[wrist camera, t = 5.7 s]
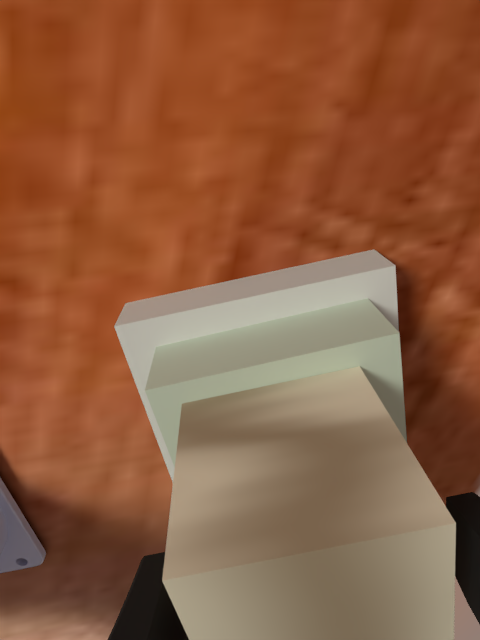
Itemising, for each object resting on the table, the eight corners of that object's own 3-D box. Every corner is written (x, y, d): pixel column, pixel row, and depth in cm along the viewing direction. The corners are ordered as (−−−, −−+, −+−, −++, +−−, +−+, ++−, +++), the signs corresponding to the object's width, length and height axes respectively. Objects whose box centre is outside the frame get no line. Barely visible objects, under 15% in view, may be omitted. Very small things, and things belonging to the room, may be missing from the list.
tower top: (209, 497, 17) (209, 556, 14) (156, 346, 14) (145, 390, 11) (383, 460, 16) (412, 514, 14) (367, 298, 13) (399, 333, 11)
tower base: (190, 474, 19) (187, 520, 17) (128, 297, 16) (114, 326, 13) (382, 435, 19) (406, 476, 17) (368, 244, 15) (395, 265, 13)
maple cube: (222, 525, 14) (226, 722, 9) (181, 403, 12) (161, 581, 7) (372, 495, 14) (453, 680, 9) (359, 366, 11) (456, 522, 7)
